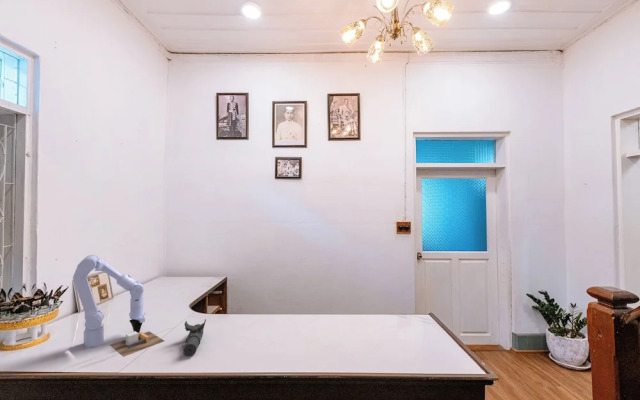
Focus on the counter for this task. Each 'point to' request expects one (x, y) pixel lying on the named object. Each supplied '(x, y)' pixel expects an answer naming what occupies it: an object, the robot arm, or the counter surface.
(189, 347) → the laser sight
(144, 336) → the bar
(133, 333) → the white block
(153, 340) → the base board
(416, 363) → the counter surface
